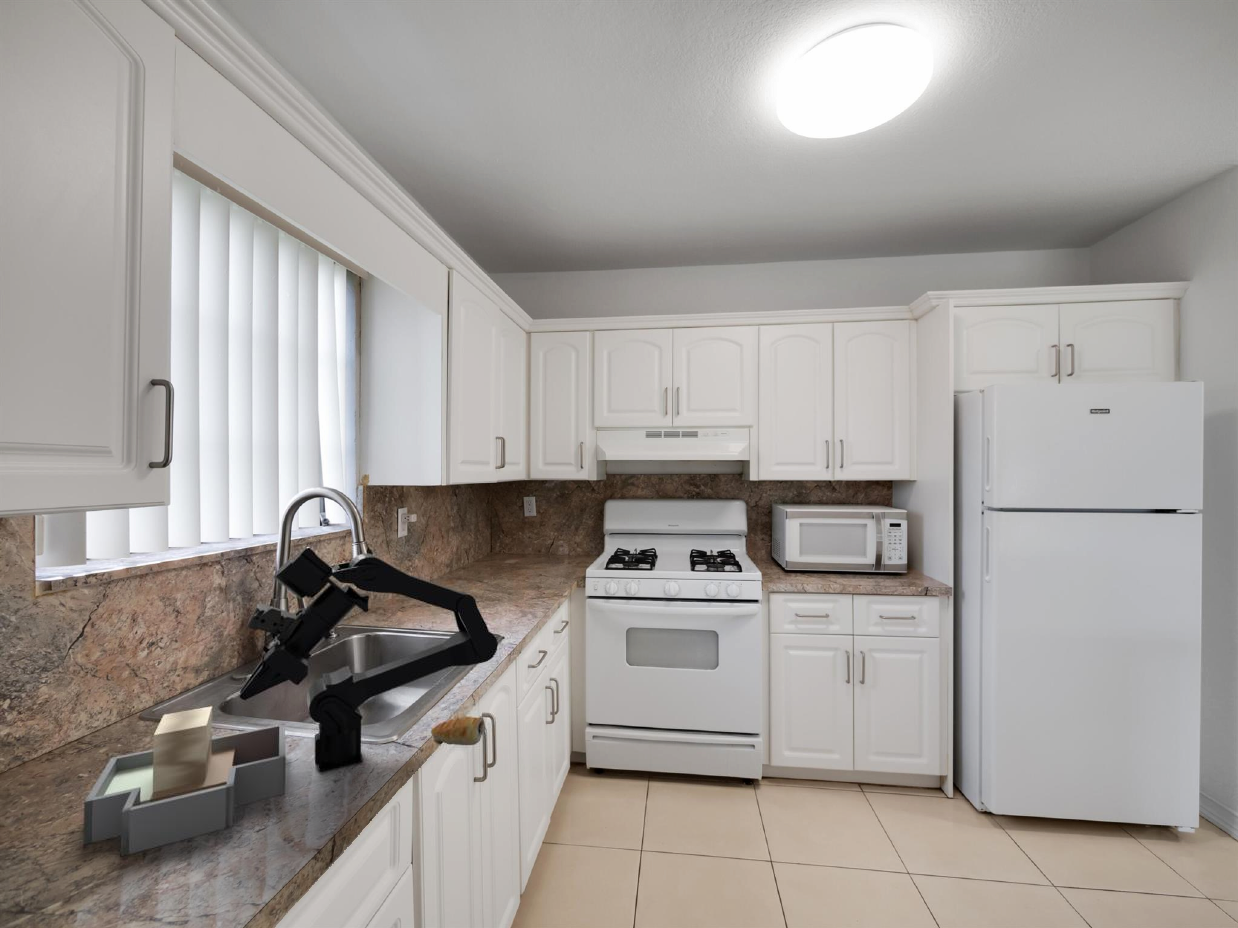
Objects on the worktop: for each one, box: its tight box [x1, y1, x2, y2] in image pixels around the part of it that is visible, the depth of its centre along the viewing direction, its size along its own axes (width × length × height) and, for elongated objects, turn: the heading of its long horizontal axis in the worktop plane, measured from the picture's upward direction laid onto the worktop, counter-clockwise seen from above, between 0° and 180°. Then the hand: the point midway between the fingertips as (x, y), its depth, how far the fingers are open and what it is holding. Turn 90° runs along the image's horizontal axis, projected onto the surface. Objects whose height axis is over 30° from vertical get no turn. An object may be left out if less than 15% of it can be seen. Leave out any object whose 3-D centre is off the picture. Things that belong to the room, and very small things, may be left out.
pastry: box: [430, 715, 487, 746], centre depth 102 cm, size 9×7×4 cm
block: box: [152, 706, 213, 792], centre depth 83 cm, size 6×8×8 cm
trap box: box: [83, 722, 286, 857], centre depth 82 cm, size 22×19×6 cm
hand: (241, 696), depth 87 cm, fingers closed
